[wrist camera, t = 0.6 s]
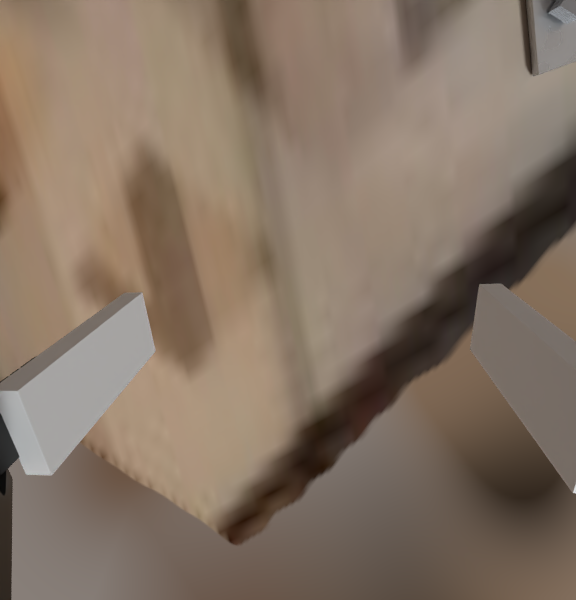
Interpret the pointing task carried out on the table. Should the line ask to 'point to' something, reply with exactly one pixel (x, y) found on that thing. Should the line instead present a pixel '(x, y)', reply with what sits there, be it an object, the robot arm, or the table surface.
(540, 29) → the base plate
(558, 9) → the sprocket
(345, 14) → the table surface
